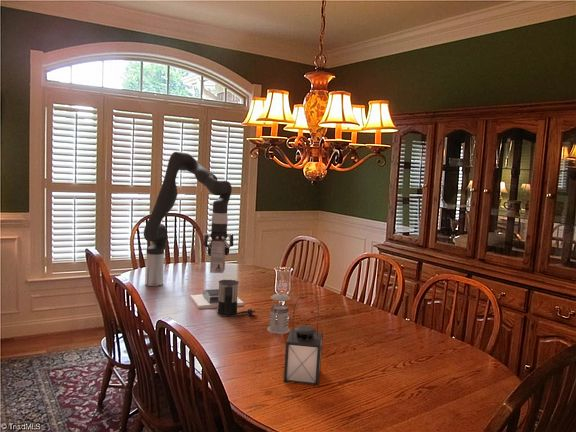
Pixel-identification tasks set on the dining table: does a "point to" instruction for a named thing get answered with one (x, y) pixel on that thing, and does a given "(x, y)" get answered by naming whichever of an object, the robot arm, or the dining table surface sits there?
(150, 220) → the robot arm
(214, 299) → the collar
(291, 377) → the lantern
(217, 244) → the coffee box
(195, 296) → the base board
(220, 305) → the milk frother
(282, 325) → the glass oil lamp
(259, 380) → the dining table surface
